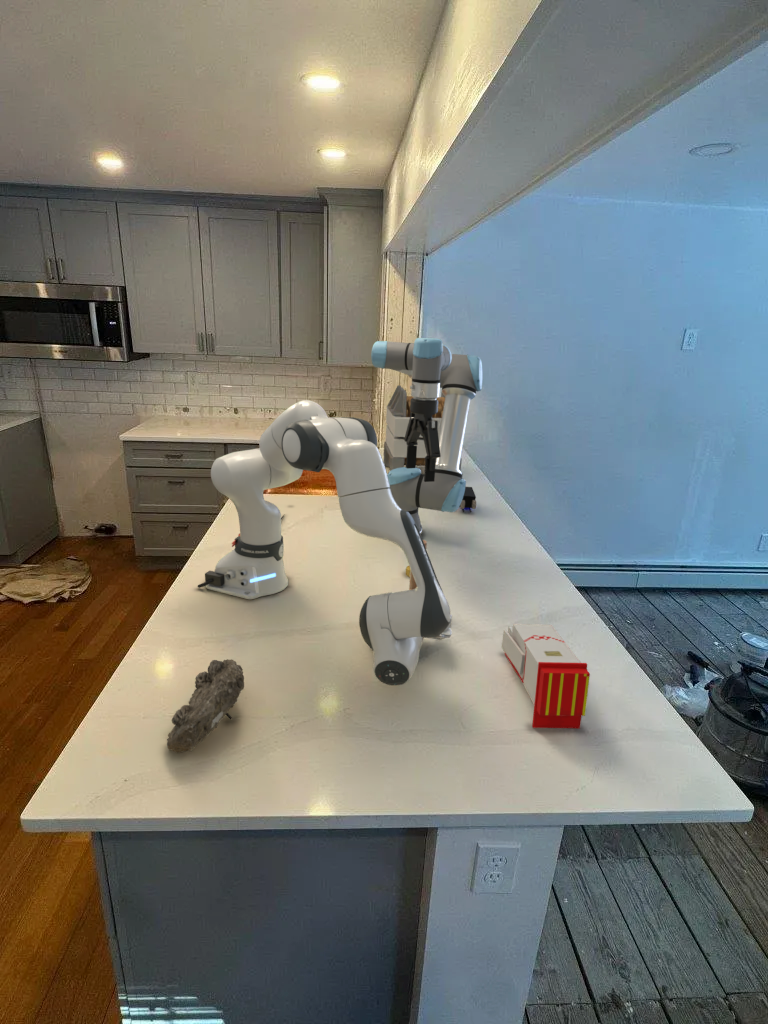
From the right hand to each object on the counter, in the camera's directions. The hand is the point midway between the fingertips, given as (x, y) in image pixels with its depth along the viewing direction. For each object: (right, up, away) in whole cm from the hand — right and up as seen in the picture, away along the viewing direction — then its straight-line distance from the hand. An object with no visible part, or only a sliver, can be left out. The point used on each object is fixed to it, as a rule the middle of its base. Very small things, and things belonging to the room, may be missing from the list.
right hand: (419, 474), depth 159 cm
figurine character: (+23, -9, +69) cm, 74 cm away
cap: (-1, -27, +10) cm, 29 cm away
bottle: (-1, -35, -7) cm, 36 cm away
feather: (-47, -13, +50) cm, 70 cm away
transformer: (+7, +8, +116) cm, 116 cm away
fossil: (-43, -50, -51) cm, 83 cm away
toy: (+23, -48, -37) cm, 65 cm away
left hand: (-3, -33, -19) cm, 39 cm away
